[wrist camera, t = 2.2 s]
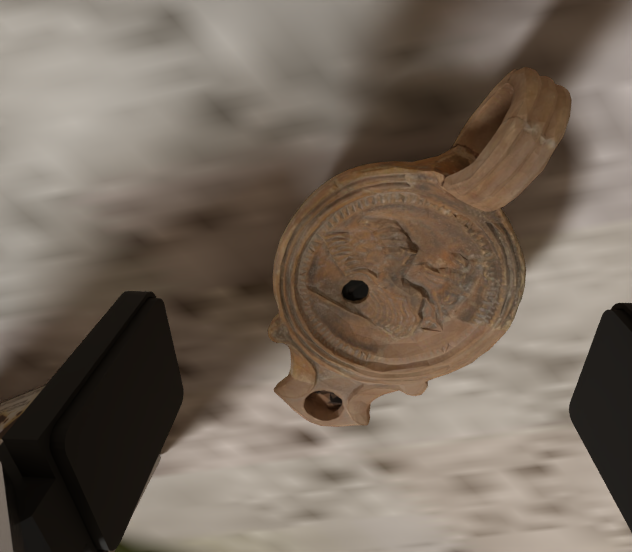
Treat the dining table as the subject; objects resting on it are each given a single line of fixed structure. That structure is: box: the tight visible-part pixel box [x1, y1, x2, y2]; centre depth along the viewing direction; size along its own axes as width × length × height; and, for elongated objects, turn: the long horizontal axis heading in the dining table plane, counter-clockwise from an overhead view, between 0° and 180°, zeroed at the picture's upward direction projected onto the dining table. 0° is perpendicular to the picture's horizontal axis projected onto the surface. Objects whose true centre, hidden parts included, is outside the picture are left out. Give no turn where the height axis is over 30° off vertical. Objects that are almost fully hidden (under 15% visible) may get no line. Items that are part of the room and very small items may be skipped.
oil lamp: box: [268, 67, 571, 427], centre depth 14 cm, size 13×8×5 cm, turn 152°
